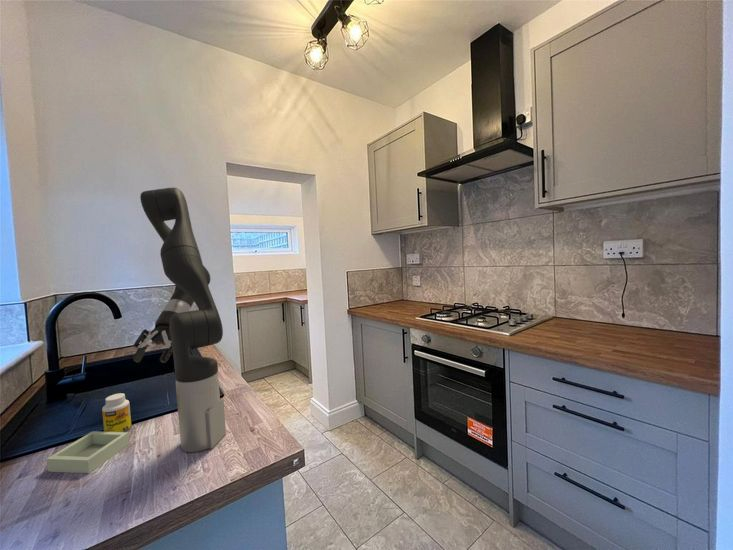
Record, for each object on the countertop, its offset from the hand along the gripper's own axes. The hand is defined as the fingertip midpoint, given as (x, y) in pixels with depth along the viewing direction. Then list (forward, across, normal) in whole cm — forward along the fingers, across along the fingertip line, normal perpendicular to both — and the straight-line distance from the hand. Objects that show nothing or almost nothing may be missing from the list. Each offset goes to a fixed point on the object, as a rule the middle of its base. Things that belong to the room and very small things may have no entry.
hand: (149, 361), depth 90 cm
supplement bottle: (+19, 0, +2) cm, 19 cm away
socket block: (+25, +2, -4) cm, 26 cm away
